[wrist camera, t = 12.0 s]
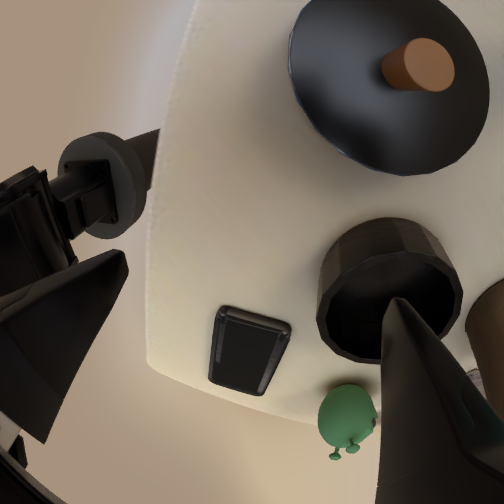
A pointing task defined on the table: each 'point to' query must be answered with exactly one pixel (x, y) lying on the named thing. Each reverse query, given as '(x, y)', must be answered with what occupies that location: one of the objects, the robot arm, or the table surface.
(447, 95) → the lid
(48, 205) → the robot arm
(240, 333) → the phone
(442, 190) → the table surface
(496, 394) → the pillar candle
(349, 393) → the alien toy
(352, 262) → the tin
